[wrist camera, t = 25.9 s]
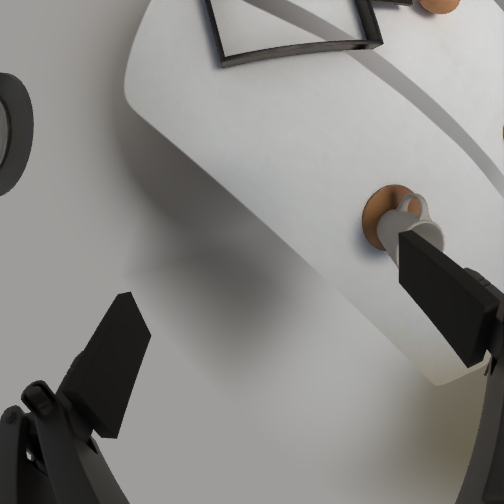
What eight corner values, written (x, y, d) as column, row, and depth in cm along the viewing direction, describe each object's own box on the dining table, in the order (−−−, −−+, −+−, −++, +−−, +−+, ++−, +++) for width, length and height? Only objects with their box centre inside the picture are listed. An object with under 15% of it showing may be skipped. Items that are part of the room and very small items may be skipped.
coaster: (364, 256, 43) (365, 257, 43) (358, 190, 39) (359, 191, 39) (420, 242, 43) (422, 243, 42) (418, 180, 39) (420, 180, 38)
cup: (366, 251, 42) (390, 278, 34) (375, 183, 38) (405, 198, 31) (409, 251, 43) (437, 276, 35) (420, 188, 39) (453, 203, 31)
